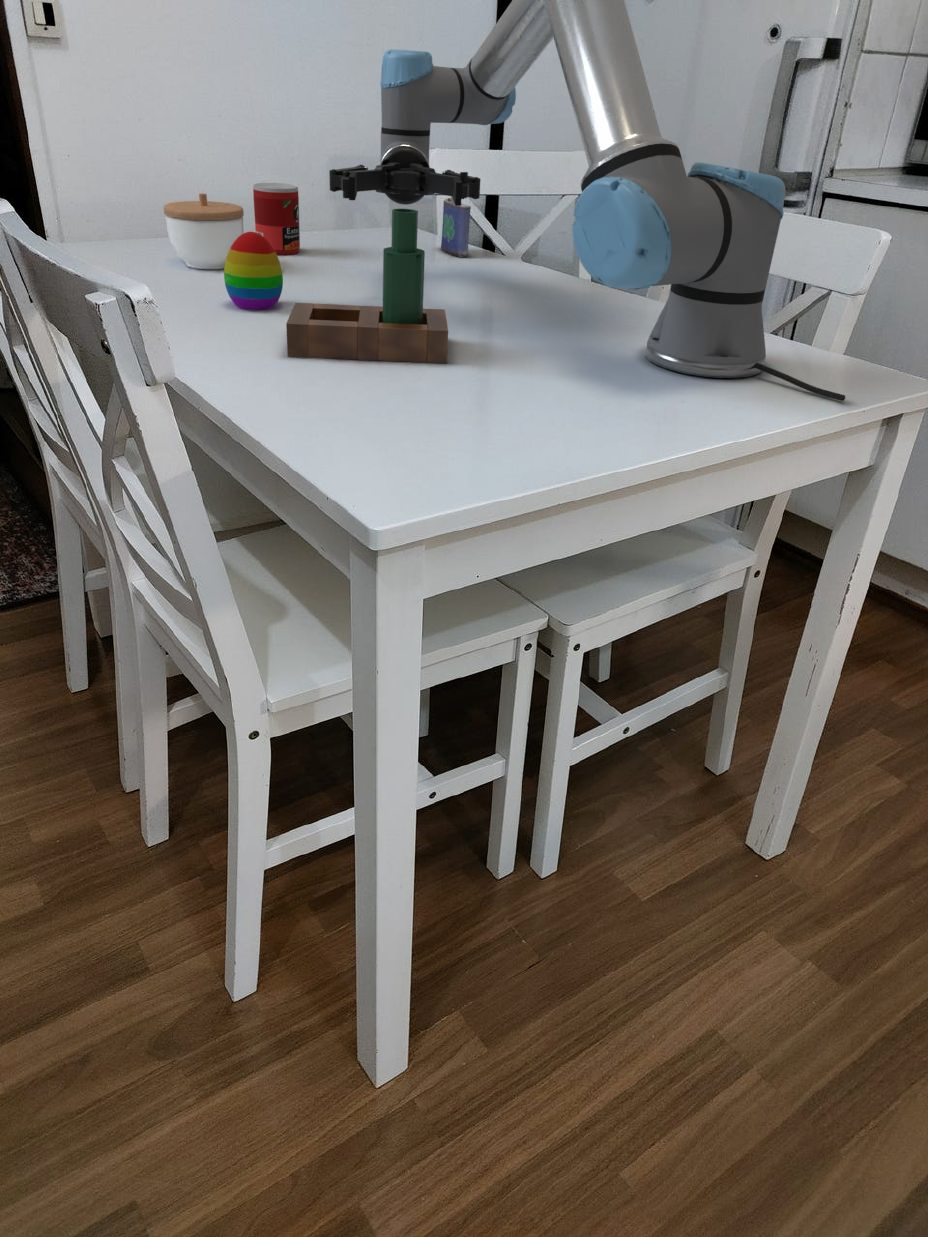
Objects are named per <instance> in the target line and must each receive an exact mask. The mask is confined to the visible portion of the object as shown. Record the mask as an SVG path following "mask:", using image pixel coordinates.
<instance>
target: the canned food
mask: <svg viewBox="0 0 928 1237" xmlns="http://www.w3.org/2000/svg"><path fill="white" fill-rule="evenodd" d="M252 192H253V209H254V210H253V212H254V214H253V215H254V229H255V231H254V232H256V233H258V234H260V235H262V236H263V237H264V238H265V239H266V240H267V241H268V242H269V243H270V244H271V246H272V247H273V249H274V250H275V252H276V254H277V256H291V255H296V254H298V253H299V251H300V249H301V237H300V236H301V234H300V202H299V201H300V200H299V199H300V198H299V187H298V186H297V185H295V184H290V183H281V182H279V183H278V182H258V183H254V184H253V188H252Z"/></svg>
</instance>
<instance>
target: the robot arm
mask: <svg viewBox="0 0 928 1237" xmlns="http://www.w3.org/2000/svg"><path fill="white" fill-rule="evenodd" d="M553 40H554V46H555V48H556V52H557V55H558V59H559V62H560V66H561V70H562V73H563V77H564V81H565V84H566V88H567V91H568V95H569V100H570V102H571V105H572V109H573V113H574V117H575V121H576V124H577V128H578V131H579V135H580V139H581V143H582V146H583V150H584V155H585V157H586V160H587V161H586V162H587V164H588V168H587V170H586V171H585V173H584V175H583V177H582V179H581V181H580V190H581V193H580V195H579V197H578V199H577V200H576V203H575V206H574V209H573V216H574V217H575V221H574V222H572V225H571V229H572V230H571V232H572V233H571V234H572V242H573V245H574V249H575V252H576V255H577V257H578V259H579V261H580V263H581V265H582V266H583V268H584V270H585V271H586V272H587V274H589V276H590V277H591V278H592V279H593V280H595V281H596V282H598V283H599V284H602V285H604V286H605V287H608V288H611V289H612V288H613V289H629V290H645V289H648V288H651V287H658V286H668V285H669V286H670V289H669V294H668V297H667V300H666V302H665V303H664V305H663V307H662V310H661V311H660V314H659V316H658V318H657V320H656V321H655V324H654V326H653V329H652V330H651V332H650V334H649V336H648V339H647V342H646V347H645V353H644V354H645V357H646V359H647V360H648V361H650V362H651V363H653V364H654V365H657V366H659V367H661V368H663V369H667V370H670V371H673V372H677V373H682V374H686V375H692V376H697V377H706V378H716V379H717V378H718V379H737V378H738V379H739V378H747V377H753V376H755V375H758V374H760V373H761V372H763V373H766V374H768V375H771V376H774V377H775V378H779V379H781V380H783V381H785V382H788V383H789V384H792V385H794V386H795V387H799V388H801V389H802V390H806V391H808V392H810V393H813V394H816V395H819V396H823V397H826V398H830V399H834V400H837V401H841V402H844V401H845V399H846V395H845V394H842V393H838V392H835V391H831V390H826V389H824V388H820V387H817V386H814V385H811V384H809V383H807V382H804V381H802V380H800V379H798V378H795V377H794V376H792V375H788V374H787V373H784V372H782V371H780V370H778V369H777V370H776V369H774V368H772V367H769V366H766V365H765V361H766V356H767V354H766V353H767V352H766V339H765V330H764V318H763V303H764V298H765V293H766V289H767V284H768V279H769V274H770V271H771V265H772V262H773V257H774V253H775V248H776V244H777V239H778V234H779V231H780V225H781V220H782V219H783V218H784V204H785V197H786V185H785V182H784V181H783V180H782V179H781V178H779V177H778V176H776V175H770V174H767V173H761V172H756V171H751V170H745V169H740V168H735V167H729V166H724V165H719V164H713V163H707V162H699V161H698V162H694V163H693V164H692V165H691V168H690V170H689V172H688V173H687V172H686V168H685V164H684V160H683V158H682V154H681V149H680V147H679V145H678V144H677V143H676V142H673V141H672V140H669V139H667V138H664V137H662V134H661V131H660V127H659V124H658V119H657V117H656V113H655V112H656V111H655V108H654V105H653V101H652V97H651V94H650V90H649V86H648V83H647V79H646V75H645V72H644V68H643V64H642V61H641V57H640V53H639V50H638V45H637V42H636V39H635V35H634V31H633V27H632V24H631V21H630V16H629V13H628V9H627V5H626V2H625V0H511V2H510V3H509V4H508V6H507V7H506V9H505V11H504V12H503V14H502V15H501V16H500V18H499V19H498V20H497V22H496V24H495V25H494V26H493V27H492V29H491V31H490V32H489V33H488V35H487V36H486V38H485V39H484V41H483V42H482V43H481V45H480V46H479V47H478V49H477V51H476V52H475V53H474V55H473V56H472V58H471V59H470V60H469V61H468V63H467V65H466V66H464V67H449V66H448V67H446V66H440V65H439V66H438V65H434V63H433V56H432V53H430V52H429V51H424V50H423V51H421V50H410V49H409V50H408V49H387V50H385V52H384V54H383V55H382V60H381V61H382V62H381V72H380V81H379V82H380V94H381V95H380V101H381V102H380V103H381V105H380V106H381V108H380V109H381V128H380V159H379V160H380V161H379V162H380V164H377V165H375V168H374V169H369V167H368V166H366V165H363V164H359V165H356V166H351V167H345V168H337V169H336V168H332V169H330V170H329V171H328V172H329V174H328V175H329V191H330V192H332V193H336V192H339V191H341V192H342V198H343V199H348V201H356V198H357V196H358V192H371V191H375V192H376V193H380V194H384V195H385V196H386V197H387V198H388V199H389V200H390V201H392V202H394V203H396V204H398V205H402V206H403V205H407V206H408V205H414V204H416V203H418V202H419V201H421V200H422V199H423V198H424V197H425V196H434V195H435V194H436V195H443V196H447V197H453V201H454V204H455V206H461V204H462V200H465V199H468V198H470V199H473V200H479V199H480V197H481V196H480V195H481V177H478V176H471V175H469V172H468V171H460V172H456V171H453V170H451V169H446V170H443V171H442V172H441V173H439V172H436V170H435V168H433V167H430V141H431V139H430V138H431V125H432V124H463V125H480V126H488V125H493V124H494V125H495V124H502V123H504V122H506V121H507V120H509V118H510V117H511V115H512V114H513V107H514V106H515V105H516V100H517V90H516V86H518V83H519V82H520V81H521V80H522V79H523V78H524V76H525V75H526V73H527V72H528V71H529V70H530V68H532V66H533V65H534V63H535V62H536V61H537V60H538V58H540V56H541V54H543V52H544V51H545V50H546V49H547V47H548V46H549V44H550V43H551V42H553Z"/></svg>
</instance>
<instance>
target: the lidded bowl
mask: <svg viewBox="0 0 928 1237" xmlns="http://www.w3.org/2000/svg"><path fill="white" fill-rule="evenodd" d="M207 195H208V194H207V193H204V192H203V193H198V200H184V201H174V202H169V203H166V204H164V205H163V214H164V215H165V216H164V218H165V226H166V231H167V236H168V239H169V242H170V244H171V246H172V249H173V251H174V252H175V254H177V256H178V257H179V258H180V259H181V260H182V261H183V262H185V266H186V267H189V268H192V269H197V270H222V269H223V270H224V267H225V261H226V257H227V254H228V252H229V249H230V247H231V246H232V244H233V243H234V241H235V240H236V239H237V238H238V237H239V236H240V235H242V234H243V233H244V214H245V213H244V208H243V207H242V206H241V205H238V204H236V203H230V202H223V201H211V200H210V201H209V200H208V196H207Z"/></svg>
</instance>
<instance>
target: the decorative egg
mask: <svg viewBox="0 0 928 1237" xmlns="http://www.w3.org/2000/svg"><path fill="white" fill-rule="evenodd" d="M283 274H284V273H283V268H282V265H281V261H280V259H279V255H277V254H276V252H275V250H274V249H273V247H272V246H271V244H270V243H269V242H268V241H267V240H266V239H265V238H264V237H263V236H262V235H260V234H258V233H256V231H246V232H243V234H242V235H240V236H239V237H238V238H237V239H236V240H235V241H234V243H233V244H232V246H231V247H230V249H229V252H228V254H227V257H226V261H225V267H224V268H223V280H224V286H225V289H226V292H227V294H228V297H229V298H230V300H231V301H232V302H233V304H234V305H235V306H236V307H238V308H239V309H242V310H251V311H261V310H262V311H263V310H270V309H273V308H274V307H276V304H278V301H279V300H280V298H281V295H282V292H283V287H284V286H283V285H284V275H283Z"/></svg>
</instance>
